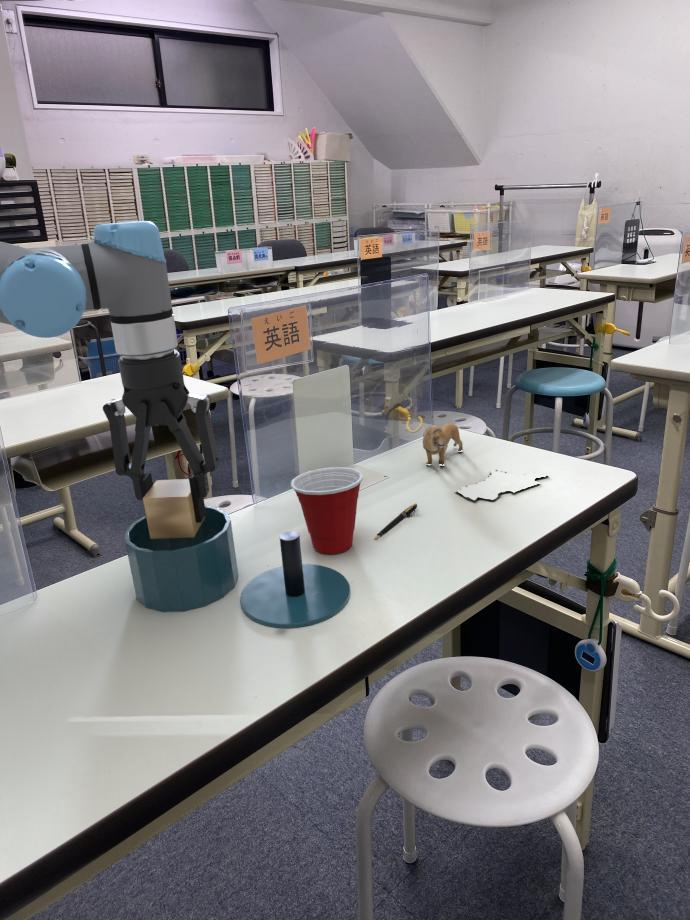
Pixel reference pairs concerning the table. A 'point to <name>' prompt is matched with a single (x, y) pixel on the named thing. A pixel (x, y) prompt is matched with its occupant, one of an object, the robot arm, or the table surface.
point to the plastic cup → (329, 506)
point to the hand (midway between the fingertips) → (176, 518)
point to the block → (170, 510)
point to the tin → (183, 564)
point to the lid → (294, 590)
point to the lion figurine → (440, 440)
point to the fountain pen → (397, 520)
